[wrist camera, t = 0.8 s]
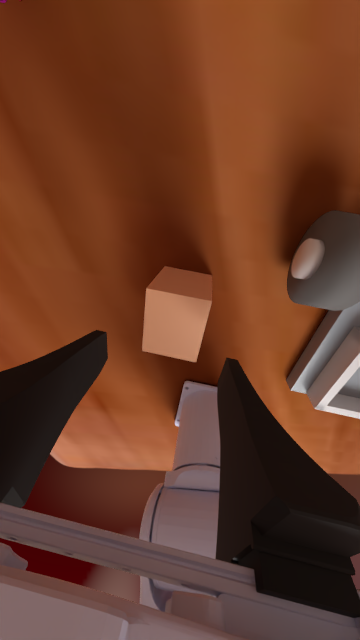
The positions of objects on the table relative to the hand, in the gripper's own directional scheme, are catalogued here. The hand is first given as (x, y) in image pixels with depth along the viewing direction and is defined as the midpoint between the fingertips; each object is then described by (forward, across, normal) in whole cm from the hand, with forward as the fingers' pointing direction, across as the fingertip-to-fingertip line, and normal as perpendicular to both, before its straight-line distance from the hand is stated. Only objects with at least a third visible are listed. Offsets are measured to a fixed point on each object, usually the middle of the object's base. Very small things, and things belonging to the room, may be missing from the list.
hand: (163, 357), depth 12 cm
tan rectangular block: (+9, 0, 0) cm, 9 cm away
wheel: (+9, -11, -6) cm, 16 cm away
